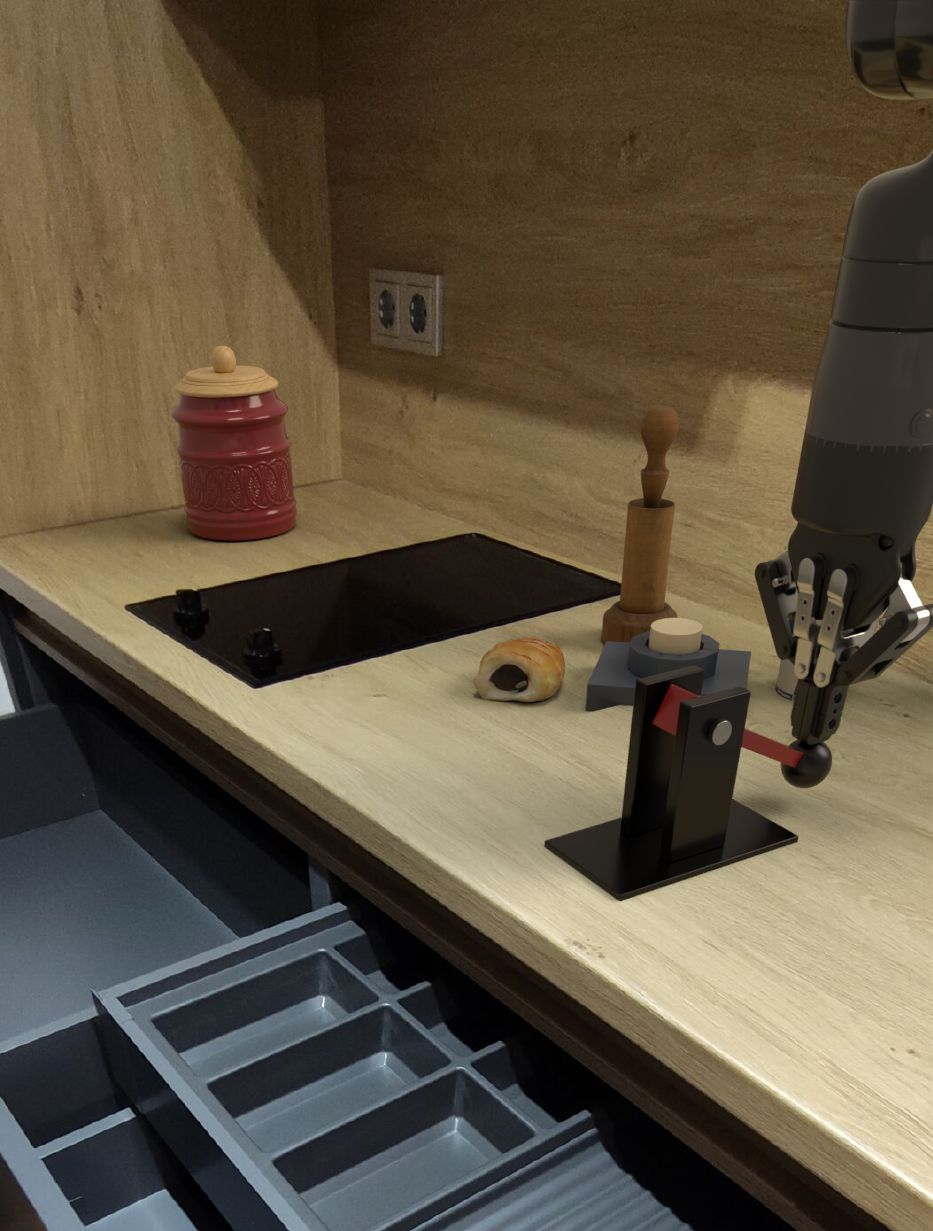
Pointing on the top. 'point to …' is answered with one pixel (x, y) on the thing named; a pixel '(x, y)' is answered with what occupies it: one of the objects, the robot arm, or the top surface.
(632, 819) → the lever bracket
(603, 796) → the top surface
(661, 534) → the mortar and pestle
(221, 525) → the kitchen canister
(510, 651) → the pastry
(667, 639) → the button
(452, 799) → the top surface
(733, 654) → the button box
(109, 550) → the top surface
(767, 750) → the red ball-knob lever
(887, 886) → the top surface
